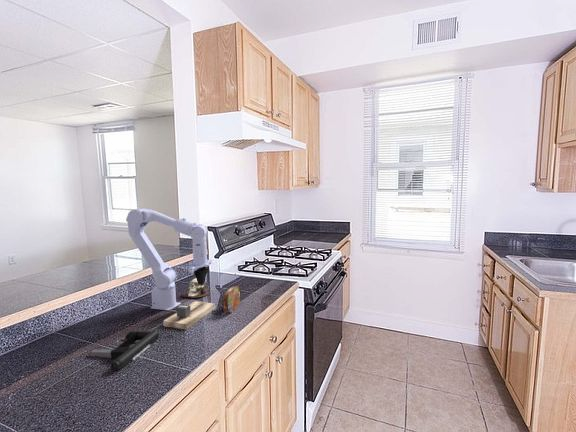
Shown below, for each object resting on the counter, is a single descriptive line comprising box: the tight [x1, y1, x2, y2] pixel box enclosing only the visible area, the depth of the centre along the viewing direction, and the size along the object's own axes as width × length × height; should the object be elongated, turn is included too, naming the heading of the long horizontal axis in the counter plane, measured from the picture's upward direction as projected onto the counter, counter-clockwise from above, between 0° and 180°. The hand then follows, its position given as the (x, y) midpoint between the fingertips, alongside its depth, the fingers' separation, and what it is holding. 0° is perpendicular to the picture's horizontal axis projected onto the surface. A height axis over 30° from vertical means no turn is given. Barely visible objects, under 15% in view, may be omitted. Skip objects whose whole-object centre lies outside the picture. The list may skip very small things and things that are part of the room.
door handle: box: [89, 329, 160, 372], centre depth 98 cm, size 3×20×16 cm
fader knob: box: [175, 304, 191, 318], centre depth 118 cm, size 4×3×4 cm
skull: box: [182, 277, 210, 299], centre depth 147 cm, size 12×10×10 cm
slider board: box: [163, 301, 216, 330], centre depth 123 cm, size 10×20×2 cm, turn 163°
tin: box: [222, 285, 242, 313], centre depth 130 cm, size 15×3×8 cm, turn 168°
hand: (201, 284), depth 133 cm, fingers closed
